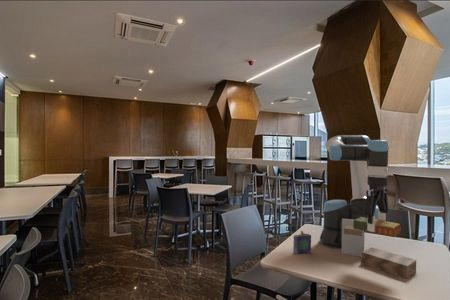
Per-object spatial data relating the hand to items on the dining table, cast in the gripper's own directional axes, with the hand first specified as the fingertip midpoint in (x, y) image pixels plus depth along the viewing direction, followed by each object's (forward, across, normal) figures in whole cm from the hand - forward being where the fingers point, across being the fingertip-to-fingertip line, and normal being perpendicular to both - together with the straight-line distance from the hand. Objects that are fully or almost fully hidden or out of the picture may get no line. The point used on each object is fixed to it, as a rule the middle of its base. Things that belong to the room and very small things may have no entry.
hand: (376, 229), depth 116 cm
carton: (+1, 0, 0) cm, 1 cm away
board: (+17, +9, +15) cm, 24 cm away
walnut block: (+17, +6, -2) cm, 18 cm away
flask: (+17, -12, +29) cm, 36 cm away
